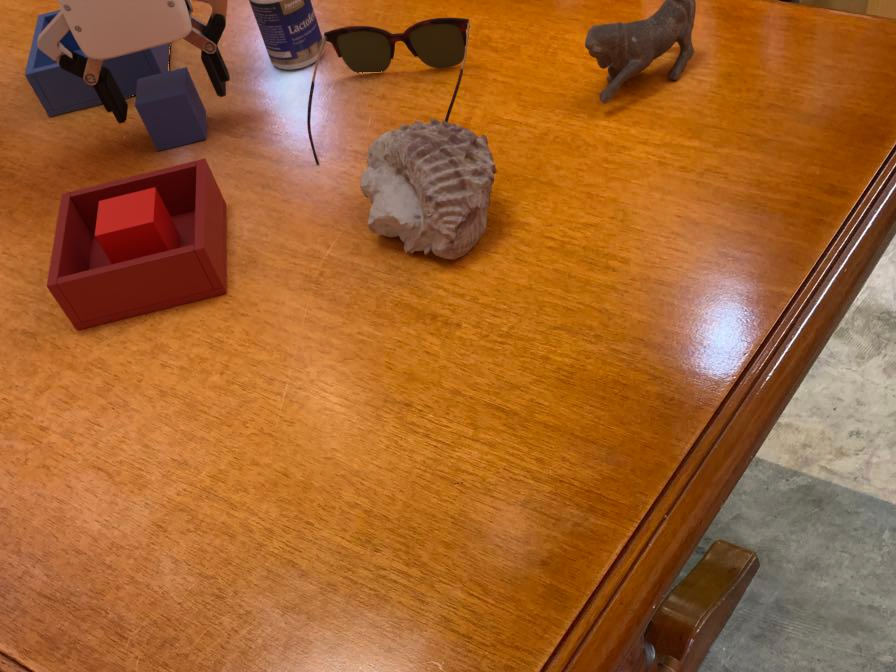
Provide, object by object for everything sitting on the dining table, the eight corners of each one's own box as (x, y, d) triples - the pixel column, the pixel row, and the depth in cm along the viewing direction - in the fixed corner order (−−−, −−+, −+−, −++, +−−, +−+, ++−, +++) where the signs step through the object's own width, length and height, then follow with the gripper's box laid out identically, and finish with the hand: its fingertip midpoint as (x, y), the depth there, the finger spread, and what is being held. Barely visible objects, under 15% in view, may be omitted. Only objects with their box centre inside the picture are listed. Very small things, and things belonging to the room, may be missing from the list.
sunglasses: (480, 64, 99) (469, 14, 94) (459, 167, 91) (446, 119, 87) (338, 76, 101) (321, 28, 97) (306, 178, 94) (286, 131, 90)
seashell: (326, 173, 86) (362, 62, 80) (421, 181, 92) (462, 78, 85) (398, 289, 80) (443, 179, 73) (495, 290, 86) (545, 189, 79)
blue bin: (48, 117, 105) (24, 74, 101) (60, 56, 112) (38, 14, 109) (168, 87, 105) (148, 44, 101) (172, 28, 112) (153, -14, 109)
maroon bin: (76, 330, 83) (46, 286, 80) (88, 237, 91) (61, 193, 87) (226, 293, 83) (203, 247, 80) (226, 203, 91) (205, 157, 87)
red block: (122, 283, 85) (94, 235, 81) (126, 248, 88) (98, 200, 84) (178, 269, 85) (153, 221, 81) (180, 235, 88) (155, 186, 84)
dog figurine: (673, 39, 96) (669, -44, 90) (713, 61, 93) (712, -23, 87) (569, 93, 93) (558, 12, 87) (607, 118, 90) (598, 35, 84)
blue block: (157, 151, 98) (134, 105, 94) (159, 125, 101) (137, 78, 97) (206, 139, 98) (185, 92, 94) (207, 113, 101) (186, 66, 97)
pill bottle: (311, 73, 102) (276, -30, 94) (262, 71, 104) (223, -31, 96) (335, 42, 105) (303, -60, 97) (287, 40, 107) (252, -61, 99)
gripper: (182, -138, 85) (260, 59, 99) (-18, -84, 86) (88, 105, 99) (180, -102, 81) (262, 99, 94) (-31, -45, 81) (81, 147, 95)
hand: (173, 102), depth 97 cm, fingers open, 9 cm apart
